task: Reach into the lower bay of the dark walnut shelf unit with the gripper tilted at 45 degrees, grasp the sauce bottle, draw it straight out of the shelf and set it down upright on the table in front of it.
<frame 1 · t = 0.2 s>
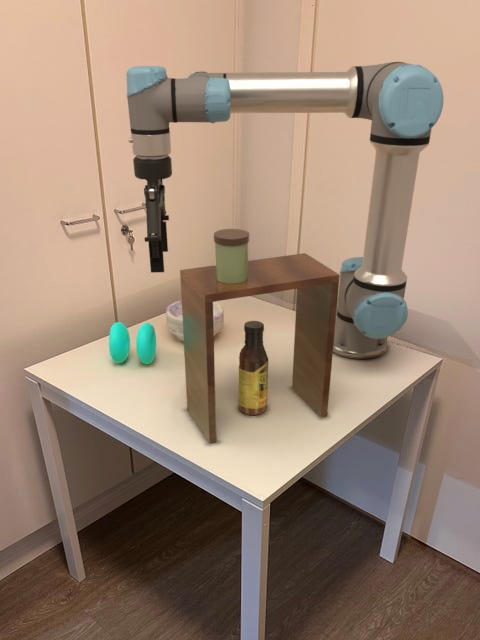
hand: (159, 261, 137), 28 cm above the table, tool pointing down, fingers open, 13 cm apart
paper bowls: (195, 337, 170), on the table
sauce bottle: (252, 409, 139), on the table
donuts: (134, 362, 158), on the table
shelf: (256, 413, 137), on the table
spice jar: (231, 278, 117), resting on shelf
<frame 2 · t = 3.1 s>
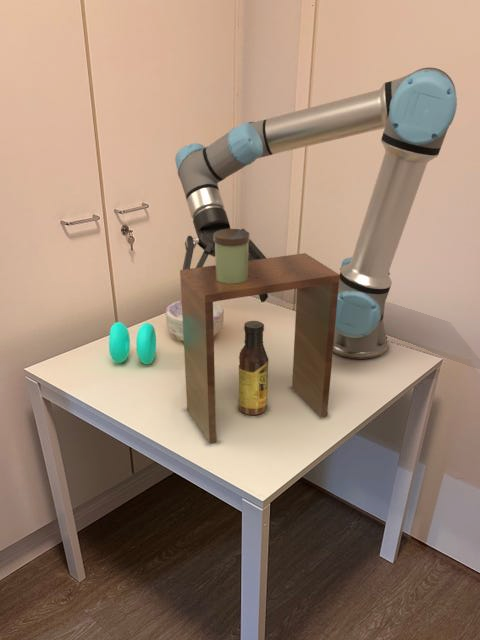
hand: (236, 304, 135), 20 cm above the table, tool tilted 45°, fingers open, 13 cm apart
nothing on the table moved.
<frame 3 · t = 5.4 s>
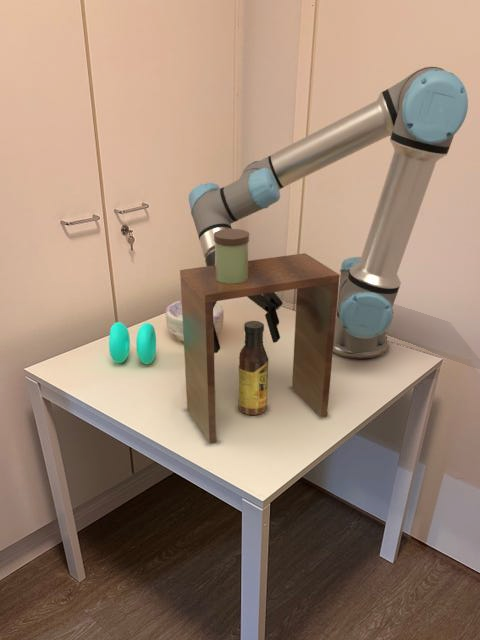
hand: (247, 345, 133), 14 cm above the table, tool tilted 45°, fingers open, 13 cm apart
nothing on the table moved.
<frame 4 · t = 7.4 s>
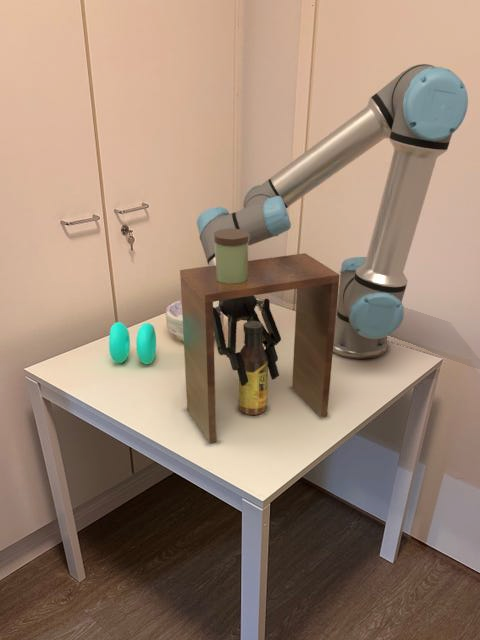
hand: (260, 380, 131), 9 cm above the table, tool tilted 45°, fingers closed on sauce bottle, 6 cm apart
sauce bottle: (252, 409, 139), on the table, touching gripper
everything else where it was.
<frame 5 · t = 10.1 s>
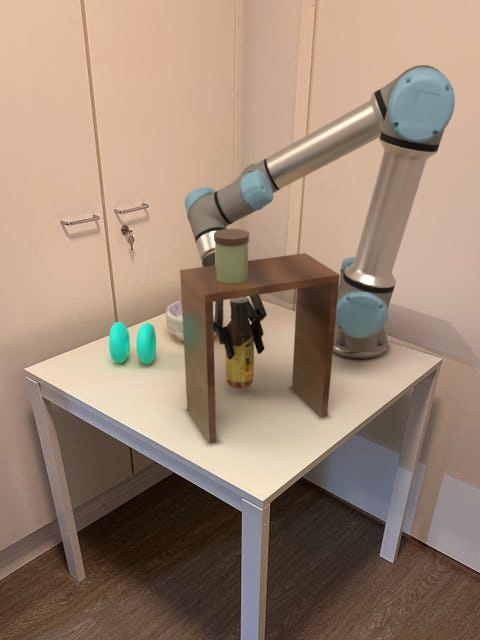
hand: (246, 354, 136), 11 cm above the table, tool tilted 45°, fingers closed on sauce bottle, 6 cm apart
sauce bottle: (239, 383, 143), point 2 cm above the table, touching gripper
everything else where it was.
when the fingers open (9 cm above the table, at t = 12.7 s): sauce bottle stays where it is, on the table.
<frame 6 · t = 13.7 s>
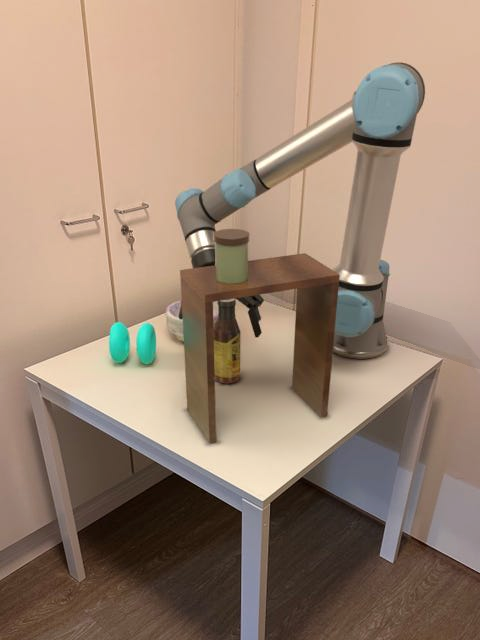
hand: (231, 340, 143), 11 cm above the table, tool tilted 45°, fingers open, 13 cm apart
sauce bottle: (227, 379, 150), on the table
everything else where it was.
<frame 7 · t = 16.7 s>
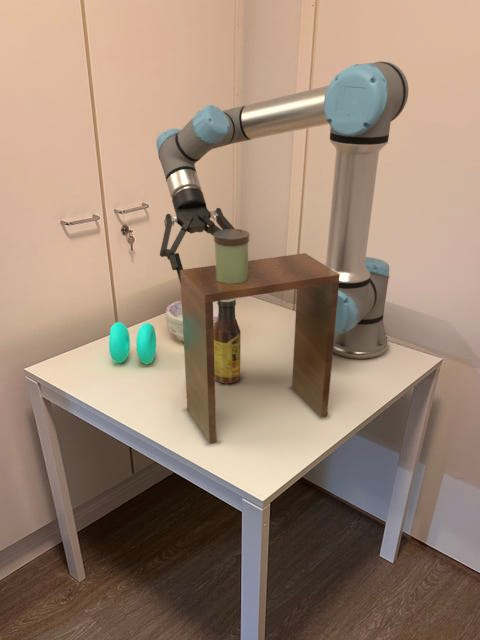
hand: (211, 277, 147), 21 cm above the table, tool tilted 45°, fingers open, 13 cm apart
nothing on the table moved.
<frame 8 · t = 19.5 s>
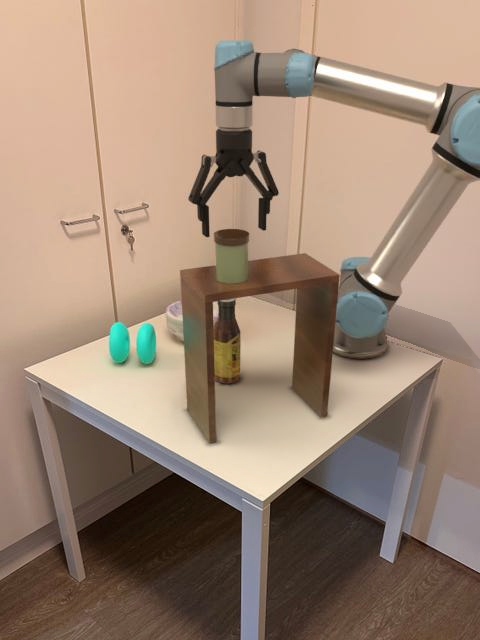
hand: (234, 232, 141), 32 cm above the table, tool pointing down, fingers open, 13 cm apart
nothing on the table moved.
at the end: sauce bottle inside the target area (0.2 cm from its centre), on the table; sauce bottle tilted 0°; the gripper is holding nothing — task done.
